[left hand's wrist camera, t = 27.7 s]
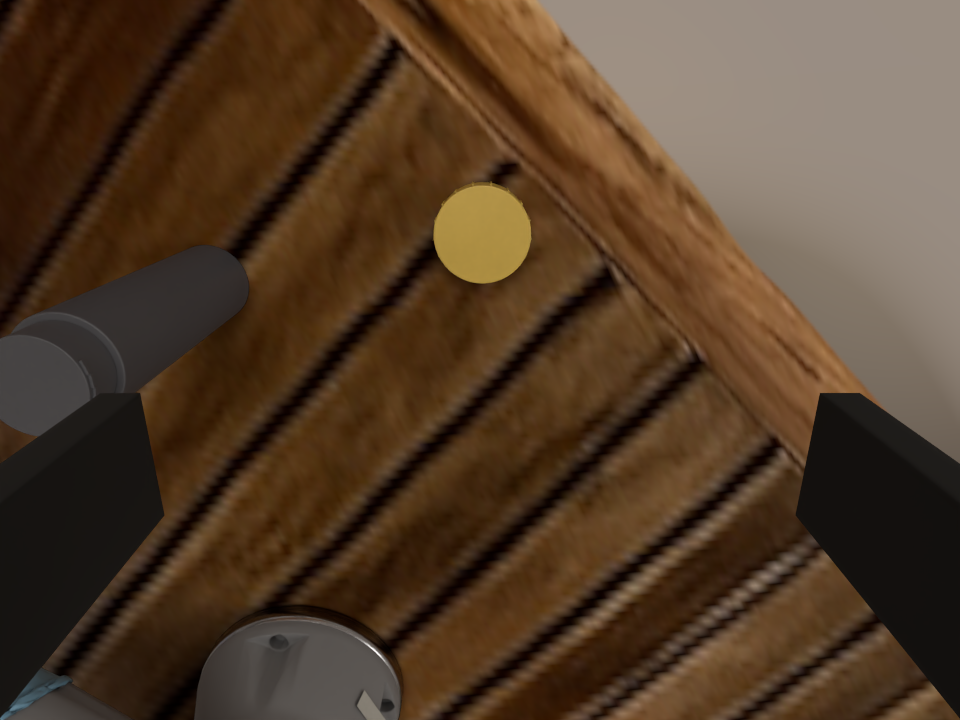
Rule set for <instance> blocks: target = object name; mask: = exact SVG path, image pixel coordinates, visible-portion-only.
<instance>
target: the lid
mask: <svg viewBox="0 0 960 720" xmlns="http://www.w3.org/2000/svg"><path fill="white" fill-rule="evenodd" d="M522 205H523V204H522V202H521V200H518V199H517V198H516V196H515V195H514V194H512V193H511V192H510V191H509V189H508V188H504V187H502V186H500V185H497V184H493V183H492V182H490V183H488V182H477V183H474V182H472V183H471V184H468V185H465V186H463V187H461V188H459V189H457V188H456V189H455V192H453V193H452V194H451V195H450V196H449V197H448V198H447V199H446V201H443V203H442V207H441V209H440V211H439V213H438V215H437V216H436V218H435V220H434V222H435V225H434V237H433V240H434V244H435V248H436V251H437V254H438V257H439V258H440V260H441V261H442V263H443V264H444V265H445V267H446V268H447V269H448V270H449V271H450V272H452V273H453V274H454V275H456V276H457V277H459V278H461V279H463V280H466V281H469V282H473V283H491V282H496V281H499V280H501V279H503V278H505V277H507V276H509V275H510V274H512V273H513V272H514V271H515V270H516V269H517V268H518V267H519V266H520V265H521V264H522V262H523V260H524V259H525V257H526V256H527V253H528V250H529V247H530V242H531V239H532V237H531V227H530V222H529V221H530V218H529V217H528V216H527V214H526V212H525V210H524V208H523V206H522Z"/></svg>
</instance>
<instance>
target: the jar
mask: <svg viewBox="0 0 960 720" xmlns="http://www.w3.org/2000/svg"><path fill="white" fill-rule="evenodd" d="M248 293H249V283H248V278H247V275H246V273H245V270H244V269H243V267H242V265H241V264H240V263H239V261H238V260H237V259H236V258H235V257H234V256H232V255H231V254H230V253H228V252H227V251H225V250H223V249H221V248H218V247H215V246H209V245H200V246H195V247H192V248H189V249H187V250H184V251H182V252H180V253H177V254H175V255H173V256H170V257H168V258H166V259H163V260H161V261H159V262H156V263H154V264H152V265H149V266H147V267H145V268H142V269H140V270H138V271H135V272H133V273H130V274H128V275H126V276H123V277H121V278H119V279H116V280H114V281H112V282H109V283H107V284H105V285H102V286H100V287H98V288H95V289H93V290H91V291H88V292H86V293H83V294H81V295H79V296H76V297H74V298H72V299H69V300H67V301H65V302H62V303H60V304H58V305H55V306H53V307H51V308H48V309H46V310H44V311H41V312H39V313H36V314H34V315H32V316H30V317H28V318H26V319H24V320H23V321H22V322H20V323H19V324H18V325H17V326H16V327H15V329H14V330H13V331H12V333H11V334H9V335H7V336H5V337H3V338H0V419H1V420H2V421H3V422H4V423H6V424H7V425H9V426H11V427H12V428H14V429H16V430H18V431H21V432H23V433H26V434H29V435H34V436H40V435H42V434H43V433H45V432H46V431H47V430H49V429H50V428H52V427H53V426H54V425H56V424H57V423H59V422H60V421H62V420H63V419H64V418H66V417H67V416H69V415H70V414H71V413H73V412H74V411H76V410H77V409H79V408H80V407H81V406H83V405H84V404H86V403H87V402H88V401H90V400H91V399H93V398H94V397H95V396H97V395H98V394H100V393H135V392H136V391H138V390H139V389H140V388H141V387H143V386H144V385H145V384H147V383H148V382H149V381H150V380H152V379H153V378H154V377H156V376H157V375H158V374H159V373H161V372H162V371H163V370H165V369H166V368H167V367H168V366H170V365H171V364H172V363H174V362H175V361H176V360H177V359H179V358H180V357H181V356H183V355H184V354H185V353H186V352H188V351H189V350H190V349H192V348H193V347H194V346H196V345H197V344H198V343H199V342H201V341H202V340H203V339H205V338H206V337H207V336H208V335H210V334H211V333H212V332H214V331H215V330H216V329H217V328H219V327H220V326H221V325H223V324H224V323H225V322H226V321H228V320H229V319H230V318H232V317H233V316H234V315H235V314H237V313H238V312H239V311H240V310H241V309H242V308H243V306H244V305H245V303H246V301H247V298H248Z"/></svg>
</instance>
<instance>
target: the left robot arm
mask: <svg viewBox="0 0 960 720" xmlns="http://www.w3.org/2000/svg"><path fill="white" fill-rule="evenodd" d="M163 516H164V511H163V506H162V501H161V496H160V491H159V486H158V481H157V476H156V471H155V466H154V461H153V456H152V451H151V446H150V441H149V436H148V431H147V426H146V421H145V416H144V411H143V406H142V401H141V396H140V393H100V394H98V395H97V396H95V397H94V398H93V399H91V400H90V401H88V402H87V403H86V404H84V405H83V406H81V407H80V408H79V409H77V410H76V411H74V412H73V413H71V414H70V415H69V416H67V417H66V418H64V419H63V420H62V421H60V422H59V423H57V424H56V425H54V426H53V427H52V428H50V429H49V430H47V431H46V432H45V433H43V434H42V435H40V436H39V437H37V438H36V439H35V440H33V441H32V442H30V443H29V444H28V445H26V446H25V447H23V448H22V449H21V450H19V451H18V452H16V453H15V454H13V455H12V456H11V457H9V458H8V459H6V460H5V461H4V462H2V463H1V464H0V720H134V719H132V718H130V717H128V716H127V715H125V714H123V713H121V712H120V711H118V710H116V709H114V708H113V707H111V706H109V705H108V704H106V703H104V702H102V701H101V700H99V699H97V698H95V697H94V696H92V695H90V694H88V693H87V692H85V691H83V690H82V689H80V688H78V687H77V686H75V685H73V684H72V682H73V680H72V679H71V678H70V677H68V676H65V675H64V676H57V675H55V674H53V673H51V672H49V671H47V670H45V669H43V668H41V667H42V666H43V665H44V663H45V662H46V661H47V660H48V659H49V657H50V656H51V655H52V654H53V652H54V651H55V650H56V649H57V647H58V646H59V645H60V644H61V642H62V641H63V640H64V639H65V637H66V636H67V635H68V634H69V633H70V631H71V630H72V629H73V628H74V626H75V625H76V624H77V623H78V621H79V620H80V619H81V618H82V616H83V615H84V614H85V613H86V612H87V610H88V609H89V608H90V607H91V605H92V604H93V603H94V602H95V600H96V599H97V598H98V597H99V595H100V594H101V593H102V592H103V590H104V589H105V588H106V587H107V586H108V584H109V583H110V582H111V581H112V579H113V578H114V577H115V576H116V574H117V573H118V572H119V571H120V569H121V568H122V567H123V566H124V564H125V563H126V562H127V561H128V560H129V558H130V557H131V556H132V555H133V553H134V552H135V551H136V550H137V548H138V547H139V546H140V545H141V543H142V542H143V541H144V540H145V539H146V537H147V536H148V535H149V534H150V532H151V531H152V530H153V529H154V527H155V526H156V525H157V524H158V522H159V521H160V520H161V519H162V517H163ZM796 516H797V517H798V519H799V520H800V521H801V522H802V524H803V525H804V526H805V527H806V529H807V530H808V531H809V532H810V534H811V535H812V536H813V537H814V539H815V540H816V541H817V542H818V543H819V545H820V546H821V547H822V548H823V550H824V551H825V552H826V553H827V555H828V556H829V557H830V558H831V560H832V561H833V562H834V563H835V564H836V566H837V567H838V568H839V569H840V571H841V572H842V573H843V574H844V576H845V577H846V578H847V579H848V581H849V582H850V583H851V584H852V586H853V587H854V588H855V589H856V590H857V592H858V593H859V594H860V595H861V597H862V598H863V599H864V600H865V602H866V603H867V604H868V605H869V607H870V608H871V609H872V610H873V612H874V613H875V614H876V615H877V616H878V618H879V619H880V620H881V621H882V623H883V624H884V625H885V626H886V628H887V629H888V630H889V631H890V633H891V634H892V635H893V636H894V637H895V639H896V640H897V641H898V642H899V644H900V645H901V646H902V647H903V649H904V650H905V651H906V652H907V654H908V655H909V656H910V657H911V659H912V660H913V661H914V662H915V663H916V665H917V666H918V667H919V668H920V670H921V671H922V672H923V673H924V675H925V676H926V677H927V678H928V680H929V681H930V682H931V683H932V684H933V686H934V687H935V688H936V689H937V691H938V692H939V693H940V694H941V696H942V697H943V698H944V699H945V701H946V702H947V703H948V704H949V706H950V707H951V708H952V709H953V710H954V712H955V713H956V714H957V715H958V717H959V718H960V464H959V463H958V462H956V461H955V460H954V459H952V458H951V457H949V456H948V455H947V454H945V453H944V452H942V451H941V450H939V449H938V448H937V447H935V446H934V445H932V444H931V443H930V442H928V441H927V440H925V439H924V438H923V437H921V436H920V435H918V434H917V433H915V432H914V431H913V430H911V429H910V428H908V427H907V426H906V425H904V424H903V423H901V422H900V421H898V420H897V419H896V418H894V417H893V416H891V415H890V414H889V413H887V412H886V411H884V410H883V409H881V408H880V407H879V406H877V405H876V404H874V403H873V402H872V401H870V400H869V399H867V398H866V397H865V396H863V395H862V394H860V393H820V396H819V401H818V406H817V411H816V416H815V421H814V426H813V431H812V436H811V441H810V446H809V451H808V456H807V461H806V466H805V471H804V476H803V481H802V486H801V491H800V496H799V501H798V506H797V511H796ZM402 695H403V680H402V675H401V671H400V668H399V665H398V663H397V661H396V659H395V657H394V655H393V654H392V652H391V651H390V649H389V648H388V647H387V645H386V644H385V643H384V642H383V641H382V640H381V639H380V638H379V637H378V636H377V635H376V634H375V633H373V632H372V631H371V630H370V629H368V628H367V627H365V626H364V625H362V624H361V623H359V622H357V621H355V620H353V619H351V618H349V617H347V616H344V615H342V614H339V613H336V612H333V611H329V610H325V609H320V608H315V607H307V606H285V607H277V608H272V609H267V610H263V611H260V612H257V613H254V614H252V615H249V616H247V617H245V618H243V619H241V620H240V621H238V622H237V623H235V624H234V625H232V626H231V627H230V628H229V629H227V630H226V631H225V632H224V633H223V634H222V636H221V637H220V638H219V639H218V641H217V642H216V644H215V645H214V647H213V649H212V651H211V653H210V655H209V657H208V659H207V661H206V663H205V665H204V667H203V670H202V673H201V677H200V681H199V684H198V690H197V698H196V708H195V717H194V720H398V719H399V716H400V710H401V703H402Z"/></svg>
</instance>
